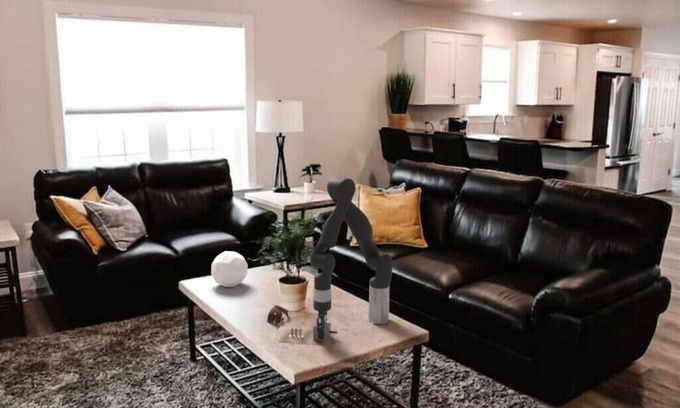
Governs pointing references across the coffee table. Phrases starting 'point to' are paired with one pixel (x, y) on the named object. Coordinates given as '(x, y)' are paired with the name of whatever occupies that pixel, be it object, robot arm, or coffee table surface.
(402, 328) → the coffee table surface
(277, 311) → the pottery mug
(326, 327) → the plug housing
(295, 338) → the header board
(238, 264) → the geometric orb
